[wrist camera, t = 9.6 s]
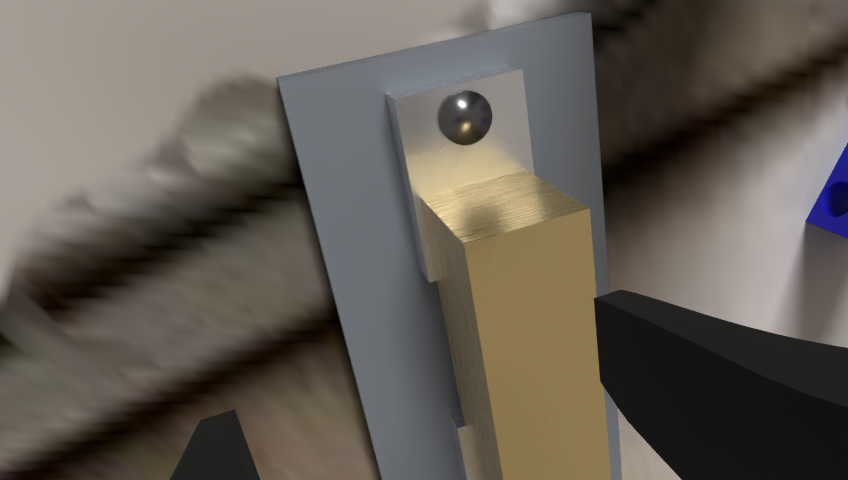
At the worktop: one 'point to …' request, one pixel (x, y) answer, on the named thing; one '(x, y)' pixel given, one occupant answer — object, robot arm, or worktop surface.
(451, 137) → the mounting blocks
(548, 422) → the link bar
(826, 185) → the cable clip
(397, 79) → the slate board
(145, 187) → the worktop surface
